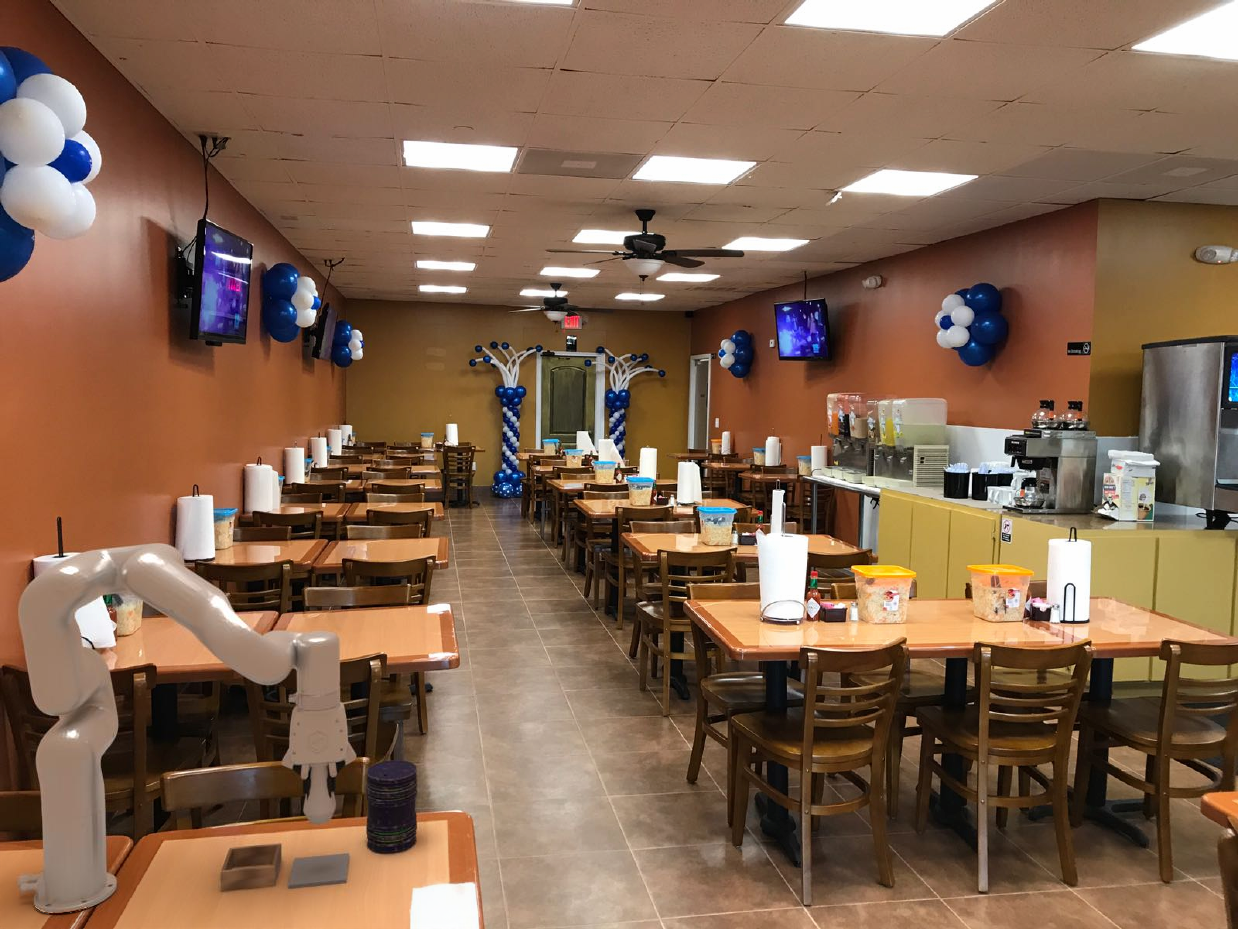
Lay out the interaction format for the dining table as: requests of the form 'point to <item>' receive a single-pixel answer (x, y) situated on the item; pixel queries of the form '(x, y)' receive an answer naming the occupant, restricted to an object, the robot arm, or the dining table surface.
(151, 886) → the dining table surface
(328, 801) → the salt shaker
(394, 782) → the dark blue cylinder
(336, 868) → the coaster
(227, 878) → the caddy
